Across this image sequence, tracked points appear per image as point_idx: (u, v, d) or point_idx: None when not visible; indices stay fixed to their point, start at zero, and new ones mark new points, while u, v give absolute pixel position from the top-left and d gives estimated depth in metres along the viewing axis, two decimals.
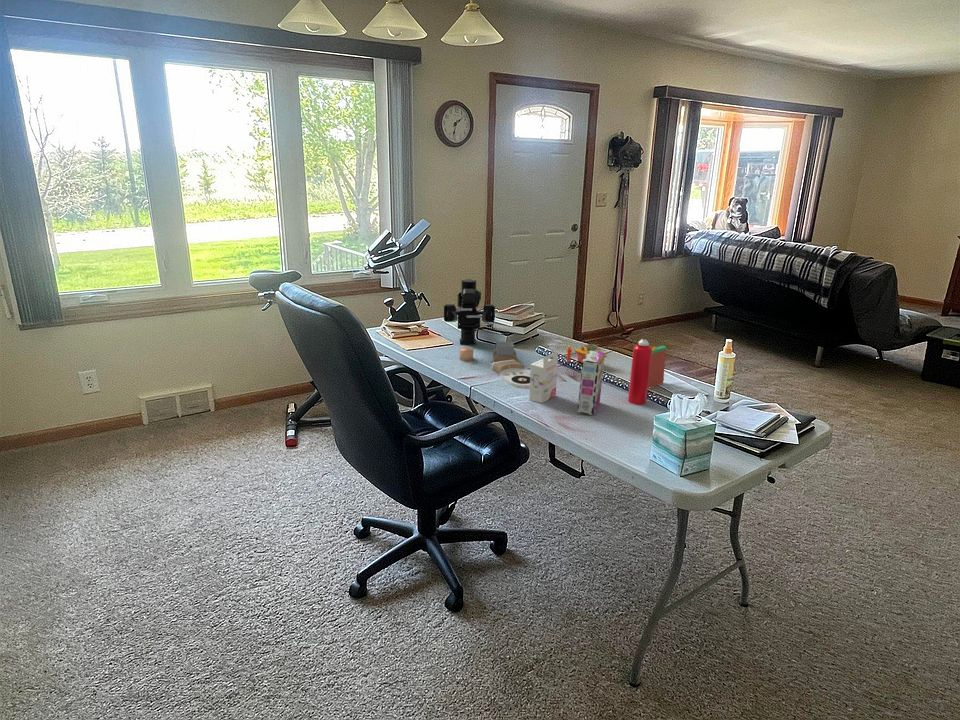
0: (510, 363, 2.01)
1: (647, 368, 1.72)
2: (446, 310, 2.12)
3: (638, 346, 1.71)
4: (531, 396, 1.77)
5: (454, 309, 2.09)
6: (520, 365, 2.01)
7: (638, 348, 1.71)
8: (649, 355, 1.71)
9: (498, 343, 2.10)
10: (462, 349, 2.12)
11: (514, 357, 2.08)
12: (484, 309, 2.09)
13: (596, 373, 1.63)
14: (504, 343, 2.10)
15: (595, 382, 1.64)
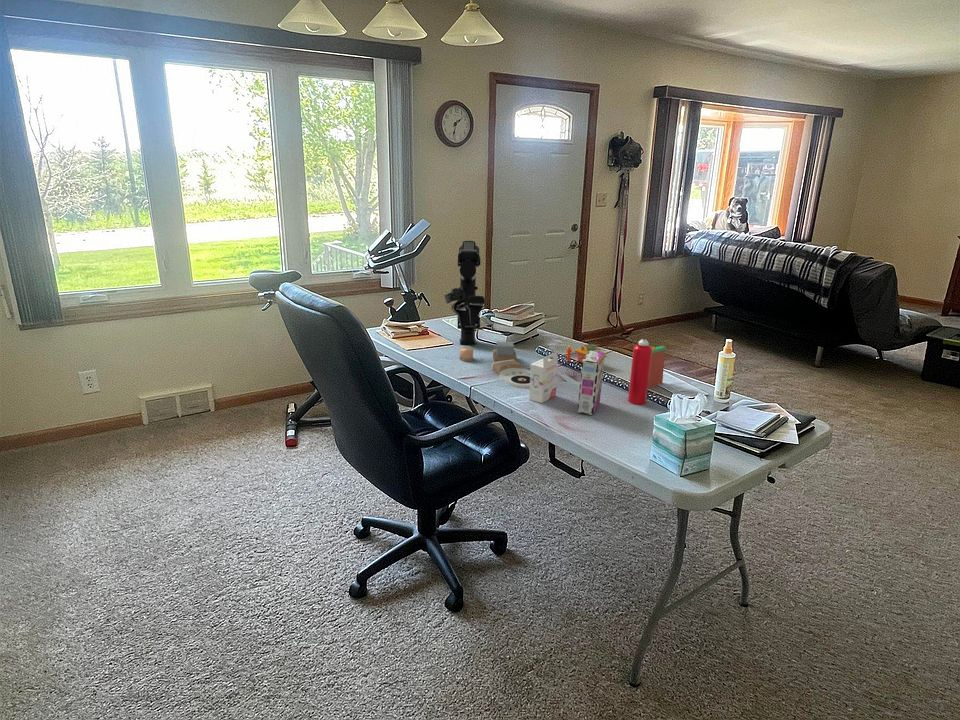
0: (510, 363, 2.01)
1: (647, 368, 1.72)
2: None
3: (638, 346, 1.71)
4: (531, 396, 1.77)
5: (457, 313, 2.13)
6: (520, 365, 2.01)
7: (638, 348, 1.71)
8: (649, 355, 1.71)
9: (498, 343, 2.11)
10: (462, 349, 2.12)
11: (514, 357, 2.08)
12: (467, 308, 2.03)
13: (596, 373, 1.63)
14: (504, 343, 2.11)
15: (595, 382, 1.64)
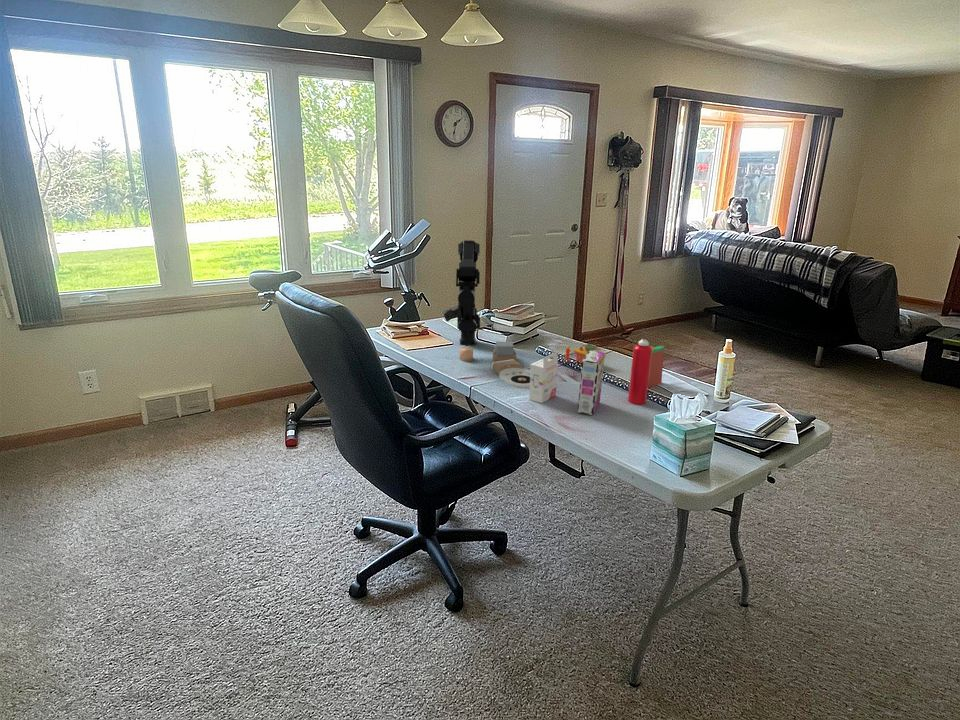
0: (509, 363, 2.01)
1: (647, 368, 1.72)
2: None
3: (638, 346, 1.71)
4: (531, 396, 1.77)
5: None
6: (519, 365, 2.01)
7: (638, 348, 1.71)
8: (649, 355, 1.71)
9: (497, 343, 2.11)
10: (462, 349, 2.12)
11: (514, 357, 2.08)
12: None
13: (596, 373, 1.63)
14: (503, 343, 2.11)
15: (595, 382, 1.64)
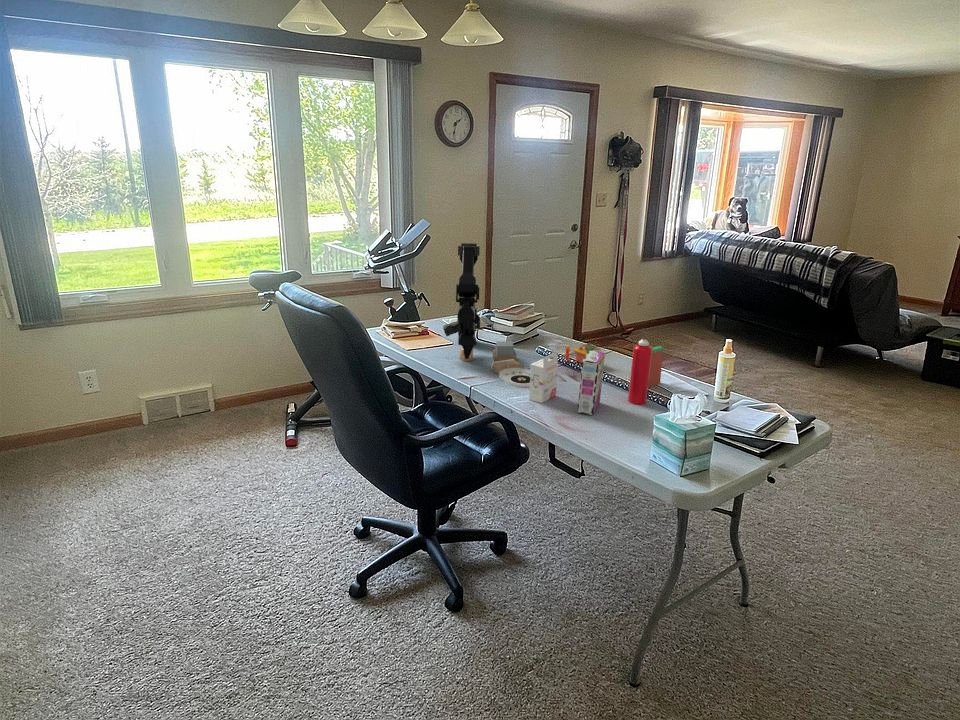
0: (509, 363, 2.02)
1: (647, 368, 1.72)
2: None
3: (638, 346, 1.71)
4: (531, 396, 1.77)
5: None
6: (519, 365, 2.01)
7: (638, 348, 1.71)
8: (649, 355, 1.71)
9: (498, 343, 2.11)
10: (462, 349, 2.12)
11: (514, 357, 2.08)
12: None
13: (596, 373, 1.63)
14: (504, 343, 2.11)
15: (595, 382, 1.64)
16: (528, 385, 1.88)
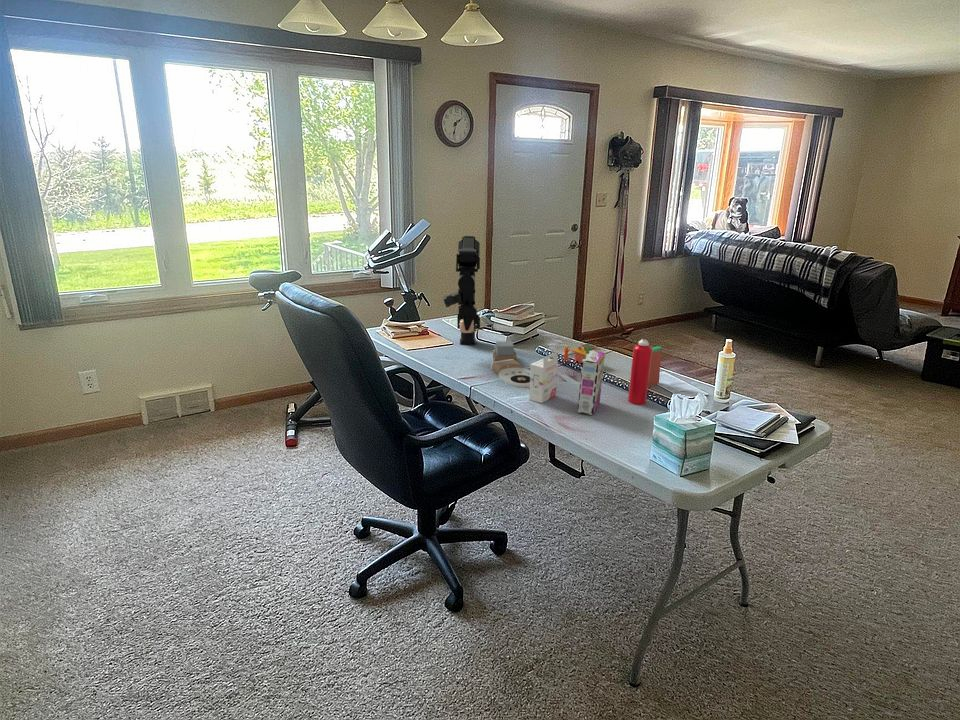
0: (509, 363, 2.02)
1: (647, 368, 1.72)
2: None
3: (638, 346, 1.71)
4: (531, 396, 1.77)
5: None
6: (519, 364, 2.01)
7: (638, 348, 1.71)
8: (649, 355, 1.71)
9: (498, 343, 2.11)
10: (462, 320, 2.08)
11: (514, 357, 2.08)
12: None
13: (596, 373, 1.63)
14: (504, 343, 2.11)
15: (595, 382, 1.64)
16: (528, 385, 1.88)
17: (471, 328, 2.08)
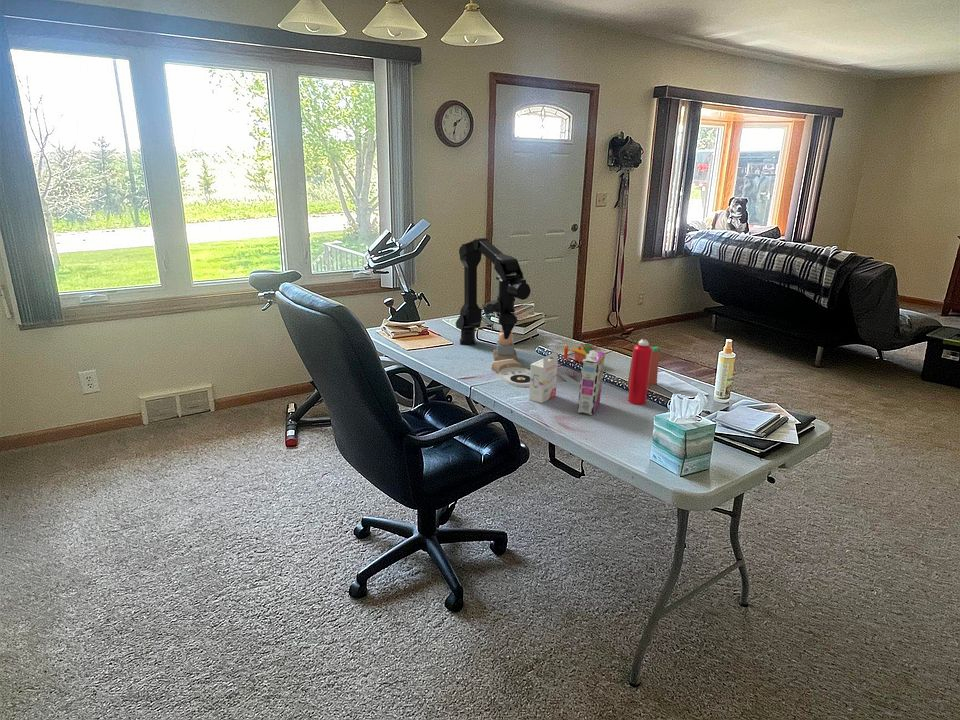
0: (509, 362, 2.02)
1: (647, 368, 1.72)
2: None
3: (638, 346, 1.71)
4: (531, 396, 1.77)
5: (499, 317, 2.11)
6: (519, 364, 2.02)
7: (638, 348, 1.71)
8: (649, 355, 1.71)
9: (498, 342, 2.11)
10: (501, 333, 2.08)
11: (515, 357, 2.08)
12: (501, 323, 2.03)
13: (596, 373, 1.63)
14: None
15: (595, 382, 1.64)
16: (527, 384, 1.88)
17: (510, 341, 2.08)
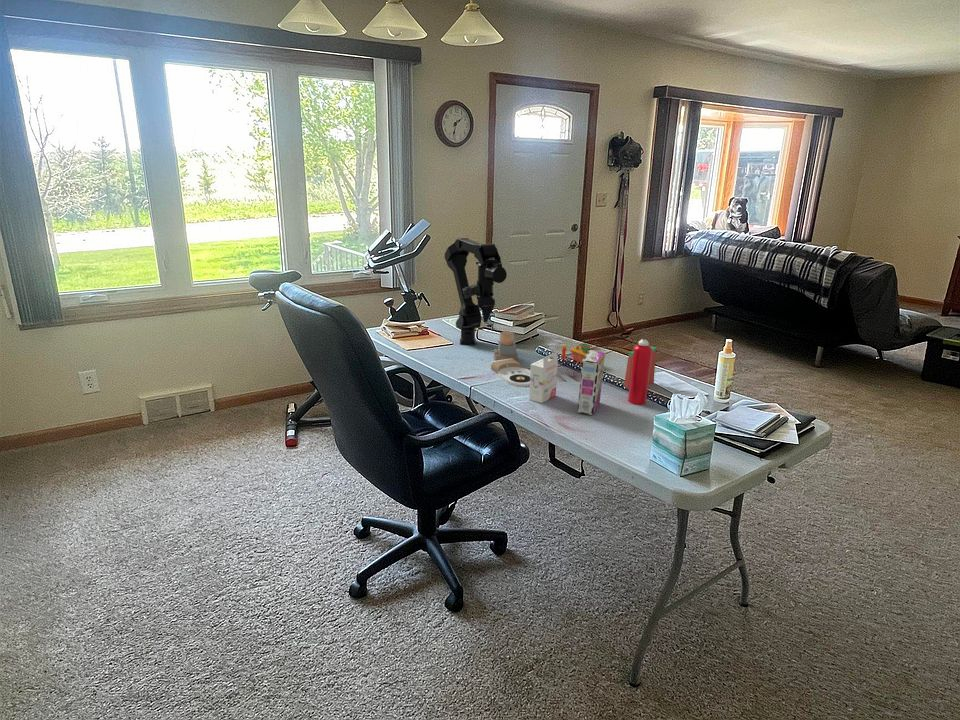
0: (508, 362, 2.02)
1: (647, 368, 1.72)
2: None
3: (638, 346, 1.71)
4: (531, 396, 1.77)
5: None
6: (518, 364, 2.02)
7: (638, 348, 1.71)
8: (649, 355, 1.71)
9: None
10: (503, 333, 2.08)
11: (515, 357, 2.08)
12: (480, 307, 2.11)
13: (596, 373, 1.63)
14: None
15: (595, 382, 1.64)
16: (527, 384, 1.88)
17: (511, 341, 2.08)
